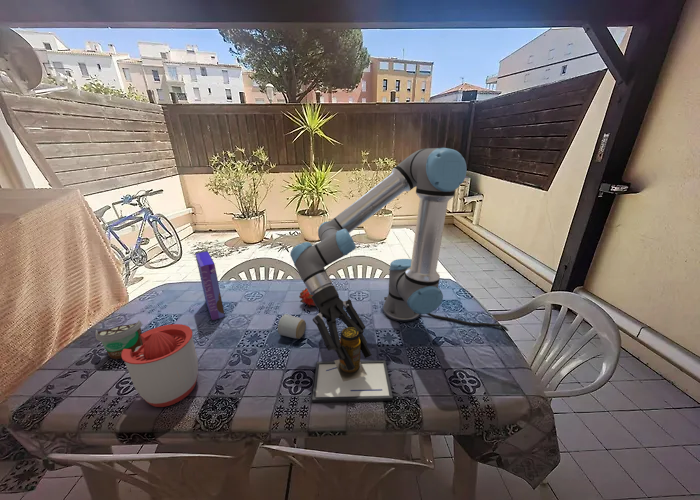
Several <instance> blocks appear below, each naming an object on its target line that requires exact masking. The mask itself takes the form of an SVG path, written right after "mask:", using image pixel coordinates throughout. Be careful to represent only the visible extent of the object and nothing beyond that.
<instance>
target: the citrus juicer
mask: <svg viewBox="0 0 700 500" xmlns="http://www.w3.org/2000/svg"><path fill="white" fill-rule="evenodd" d="M140 335H141V339H142V343H143V345H142V346H139V347H136V349H135V351H134V352H132V350H131V349H123V351H122V354H121V357H122V361H123V362H124V364H125V366H126V369H127V372H128V374H129V377H130V380H131V382H132V384H133V387H134V388H135V391H136V392H137V394H138V395H139V396H140V397H141V398H142V399H143V401H145V402H146V404H149V405H150V406H152V407H155V408H165V407H170V406H173V405H175V404H177V403H179V402H180V401H182V400H184V399H185V398H186V397H188V396H189V395H190V394H191V393H192V392H193V390H194V389H195V387H196V385H197V381H198V378H199V377H198V376H199V358H198V354H197V351H196V345H195V341H194V338H193V329H192V328H191V327H190V326H188V325H185V324H182V323H173V324H171V323H170V324H165V325H160V326H156V327H154V328H151V329H149V330H146V331H144V332H142V334H140Z"/></svg>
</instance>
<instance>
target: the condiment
mask: <svg viewBox="0 0 700 500" xmlns="http://www.w3.org/2000/svg"><path fill="white" fill-rule="evenodd" d="M339 340H340V344H341V346H343V345H344V347H345V348H346V350H347V352H348V354H349V356H350V358H351V360H352V362H353V364H354V366H355V368H354V369H352V370H348V369H347V367H346V365H345V363H344V361H343V360H340V358H338V359H336V360H335V359H334V361H335V364H336V366H337V369H338V371H339V373H340V376H341V378H342V380H343V381H348V380H352V379H356V378H359V377H363V376H366V375H367V373H366V372H365V370H364V368H363V366H362V364H361V363H360V361H361V350H360V348H361V346H360V343H361V342H360V339H359V331H358V330H357V329H355V328H352V327H344V328H343V329H341V331H340V337H339Z"/></svg>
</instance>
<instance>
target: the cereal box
mask: <svg viewBox="0 0 700 500" xmlns="http://www.w3.org/2000/svg"><path fill="white" fill-rule="evenodd" d="M194 255H195V259H196V265H197V269H198V273H199V278H200V282H201V283H200V284H201V286H202V291H203V295H204V300H205V304H206V307H207V310H208V313H209V316H210V319H211V321H213V322H214V321H216V320H220V319H223V318H226V315H225V310H224V306H223V305H224V304H223V300H222V295H221V290H220V289H221V288H220V283H219V280H218V274H217V269H216V263H215V261H214V260H213V258H212V255H210V253H209V251H208V250H202V251H198V252H195V253H194Z"/></svg>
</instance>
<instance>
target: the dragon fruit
mask: <svg viewBox="0 0 700 500" xmlns="http://www.w3.org/2000/svg"><path fill="white" fill-rule="evenodd" d="M312 296H313V295H310V293H309V292H308V290H307V288H304V289H303V290H302V291H301V292H299V295H298V297H299V299H300V303H302V304H306V305H307V306H308V307H309V308H311V307H312V306H315V307H316V305H315V303H314V301H313V300H312Z"/></svg>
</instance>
